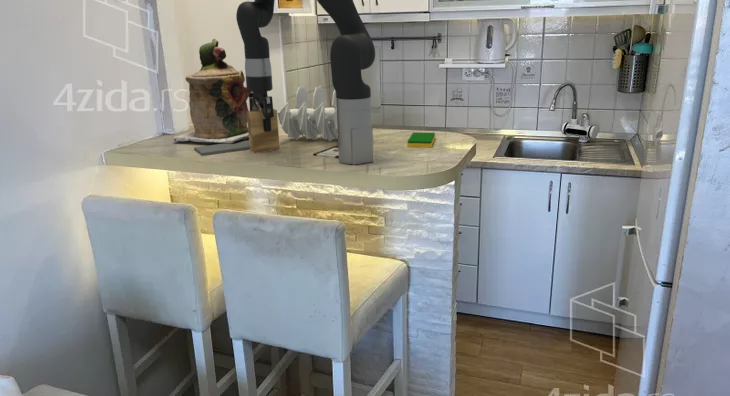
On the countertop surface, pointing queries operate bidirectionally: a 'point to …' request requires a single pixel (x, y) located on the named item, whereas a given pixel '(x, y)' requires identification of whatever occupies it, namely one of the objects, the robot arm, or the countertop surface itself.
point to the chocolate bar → (328, 152)
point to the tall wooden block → (262, 132)
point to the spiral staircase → (310, 116)
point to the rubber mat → (223, 148)
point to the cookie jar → (216, 99)
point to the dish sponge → (421, 140)
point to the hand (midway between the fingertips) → (262, 129)
